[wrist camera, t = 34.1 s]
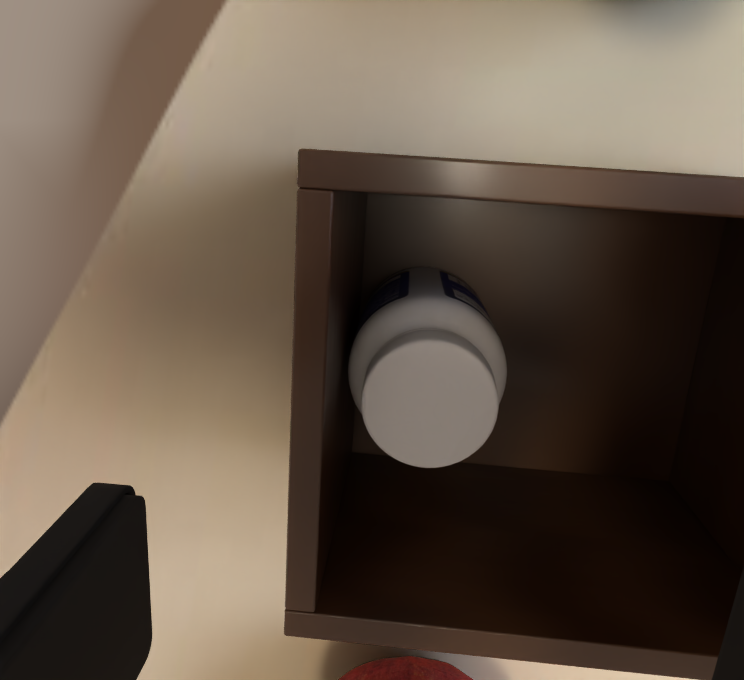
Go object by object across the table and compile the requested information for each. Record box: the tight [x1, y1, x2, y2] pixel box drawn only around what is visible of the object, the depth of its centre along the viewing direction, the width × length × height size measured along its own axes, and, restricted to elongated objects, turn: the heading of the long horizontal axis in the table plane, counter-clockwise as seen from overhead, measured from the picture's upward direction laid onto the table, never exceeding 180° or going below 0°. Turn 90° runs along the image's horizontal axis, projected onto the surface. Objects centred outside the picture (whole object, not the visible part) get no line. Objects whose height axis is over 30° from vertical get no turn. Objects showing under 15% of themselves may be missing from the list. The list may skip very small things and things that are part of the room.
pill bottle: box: [348, 267, 507, 468], centre depth 22 cm, size 5×5×9 cm
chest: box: [284, 149, 744, 680], centre depth 22 cm, size 16×14×11 cm
